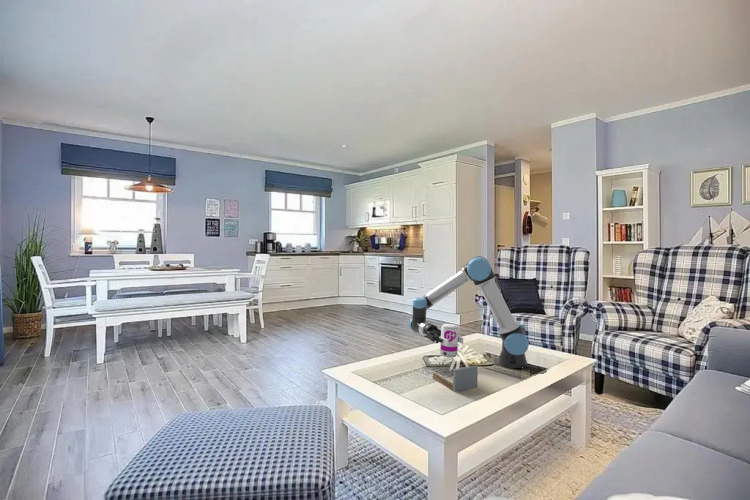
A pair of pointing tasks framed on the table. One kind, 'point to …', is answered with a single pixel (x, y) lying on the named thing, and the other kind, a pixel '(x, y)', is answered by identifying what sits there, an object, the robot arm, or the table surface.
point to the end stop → (465, 378)
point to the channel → (443, 381)
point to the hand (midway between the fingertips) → (455, 341)
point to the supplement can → (452, 335)
